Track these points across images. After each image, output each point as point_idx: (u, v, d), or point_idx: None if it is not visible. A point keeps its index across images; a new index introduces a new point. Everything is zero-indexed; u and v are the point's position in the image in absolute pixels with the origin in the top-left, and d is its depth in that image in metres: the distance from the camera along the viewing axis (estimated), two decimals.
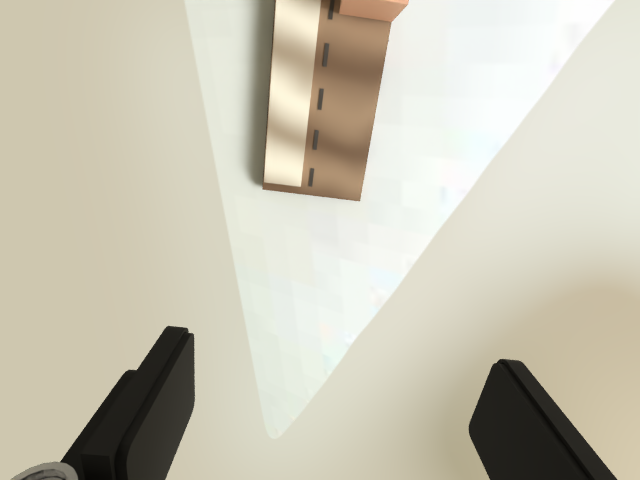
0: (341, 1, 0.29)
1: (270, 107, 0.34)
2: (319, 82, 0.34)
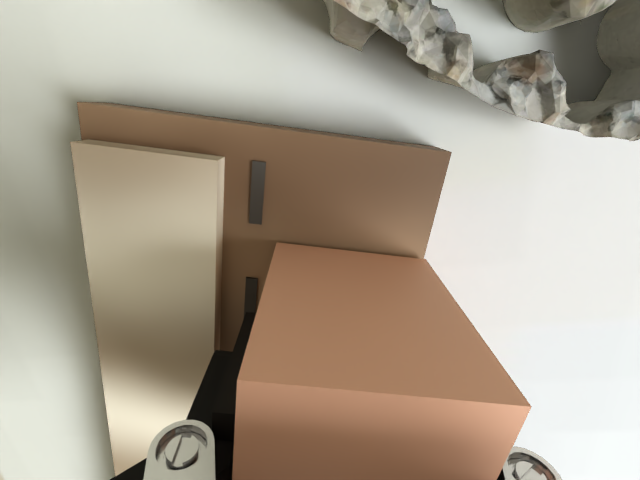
0: None
1: None
2: None
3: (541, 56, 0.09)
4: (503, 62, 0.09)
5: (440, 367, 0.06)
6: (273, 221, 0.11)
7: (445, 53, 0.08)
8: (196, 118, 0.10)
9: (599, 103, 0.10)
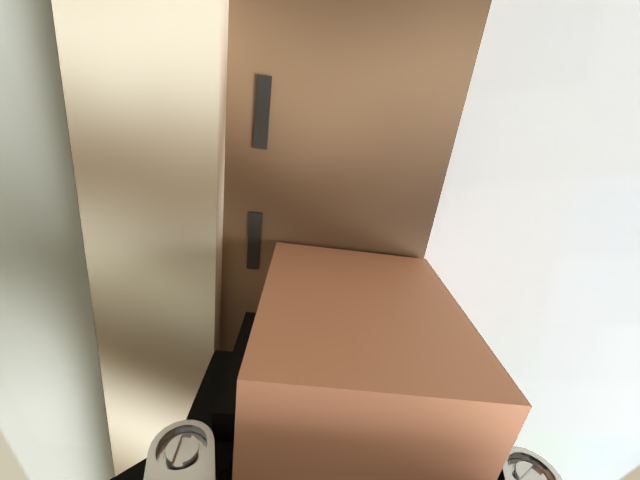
0: None
1: (115, 449, 0.14)
2: None
3: None
4: None
5: (441, 366, 0.06)
6: None
7: None
8: None
9: None
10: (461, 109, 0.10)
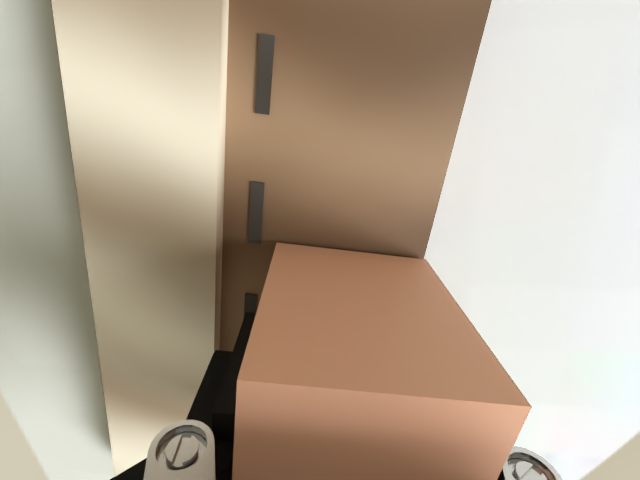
0: None
1: (102, 349, 0.12)
2: (242, 279, 0.12)
3: None
4: None
5: (441, 367, 0.06)
6: None
7: None
8: None
9: None
10: None
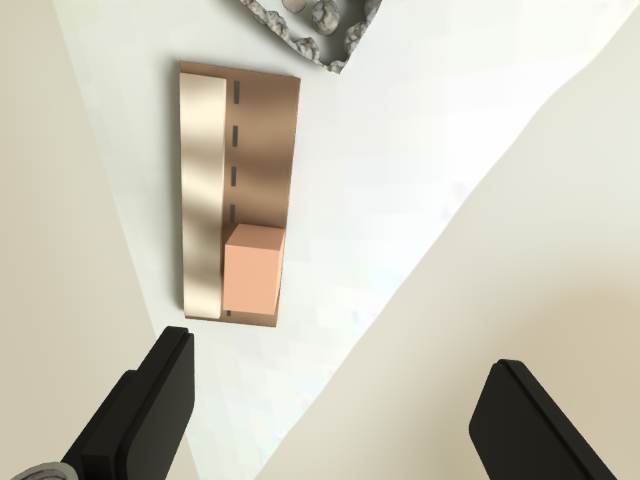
0: None
1: (184, 257, 0.37)
2: (229, 234, 0.37)
3: (309, 38, 0.30)
4: (302, 39, 0.30)
5: (266, 246, 0.32)
6: (242, 103, 0.32)
7: (281, 30, 0.29)
8: (217, 66, 0.31)
9: None
10: (294, 135, 0.34)
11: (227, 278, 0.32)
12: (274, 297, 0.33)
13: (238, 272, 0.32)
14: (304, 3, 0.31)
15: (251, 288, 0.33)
